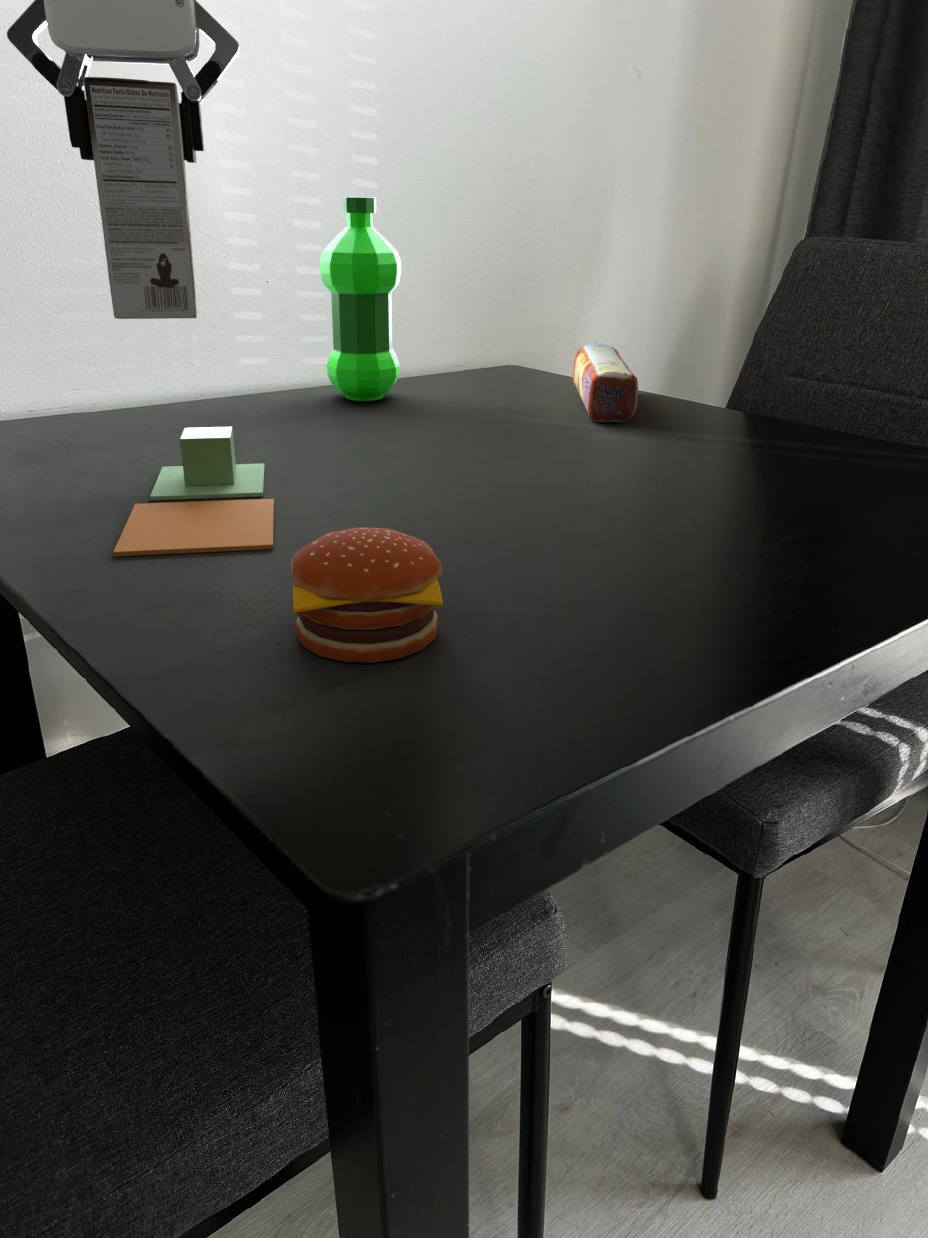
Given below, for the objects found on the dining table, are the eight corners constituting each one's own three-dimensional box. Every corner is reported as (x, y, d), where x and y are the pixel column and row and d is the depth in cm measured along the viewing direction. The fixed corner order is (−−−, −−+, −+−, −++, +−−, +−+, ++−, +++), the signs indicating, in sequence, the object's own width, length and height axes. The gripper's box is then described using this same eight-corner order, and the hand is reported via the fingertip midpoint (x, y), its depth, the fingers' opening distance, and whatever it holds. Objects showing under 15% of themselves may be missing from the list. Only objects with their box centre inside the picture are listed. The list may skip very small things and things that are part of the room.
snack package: (637, 425, 113) (642, 369, 110) (583, 423, 113) (588, 368, 110) (616, 391, 132) (620, 343, 130) (570, 390, 133) (574, 342, 130)
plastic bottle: (417, 396, 126) (416, 198, 116) (361, 408, 119) (354, 197, 108) (367, 386, 132) (362, 196, 122) (311, 396, 125) (300, 195, 114)
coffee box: (117, 305, 77) (89, 86, 70) (195, 305, 79) (176, 91, 72) (112, 319, 69) (81, 73, 62) (200, 319, 71) (178, 79, 64)
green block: (185, 486, 85) (179, 438, 83) (189, 473, 89) (184, 427, 87) (234, 484, 86) (230, 437, 84) (236, 471, 90) (232, 426, 88)
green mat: (150, 500, 82) (149, 496, 82) (162, 470, 91) (162, 466, 91) (263, 496, 84) (262, 492, 84) (264, 467, 93) (264, 463, 93)
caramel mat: (113, 556, 70) (112, 551, 70) (135, 507, 81) (135, 503, 80) (273, 549, 72) (272, 544, 72) (273, 502, 83) (273, 498, 82)
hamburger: (297, 673, 54) (289, 568, 51) (294, 607, 62) (287, 514, 59) (454, 661, 55) (455, 558, 52) (430, 598, 64) (429, 507, 61)
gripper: (239, -109, 66) (258, 165, 74) (-17, -129, 63) (30, 159, 71) (235, -142, 60) (256, 162, 67) (-51, -166, 57) (5, 156, 64)
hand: (140, 158), depth 69 cm, fingers closed on coffee box, 6 cm apart
